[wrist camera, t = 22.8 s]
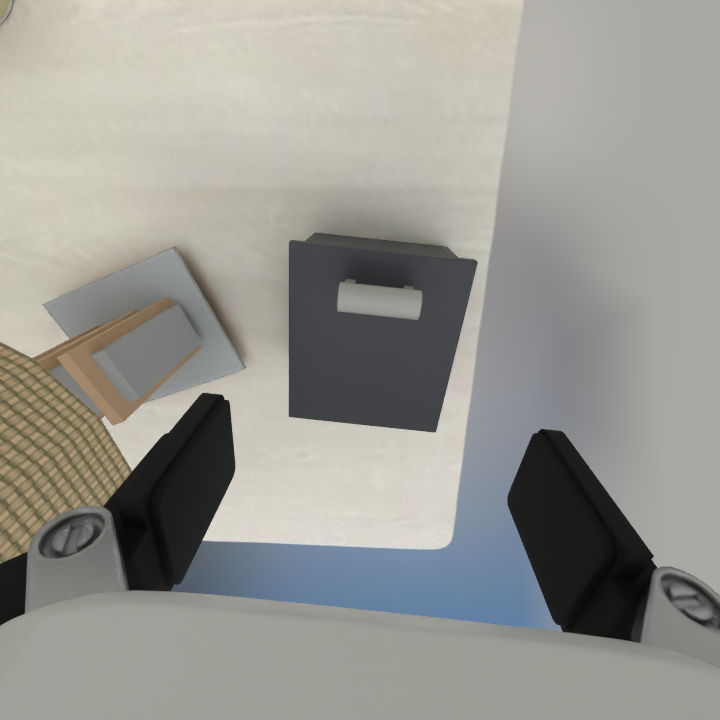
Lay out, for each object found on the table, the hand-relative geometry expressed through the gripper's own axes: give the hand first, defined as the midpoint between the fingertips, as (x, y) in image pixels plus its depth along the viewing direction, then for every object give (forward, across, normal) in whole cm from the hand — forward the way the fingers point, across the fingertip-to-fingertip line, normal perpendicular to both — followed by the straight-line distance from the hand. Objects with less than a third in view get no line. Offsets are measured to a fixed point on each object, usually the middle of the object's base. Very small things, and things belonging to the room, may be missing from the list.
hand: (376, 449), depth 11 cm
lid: (+16, 0, +4) cm, 17 cm away
